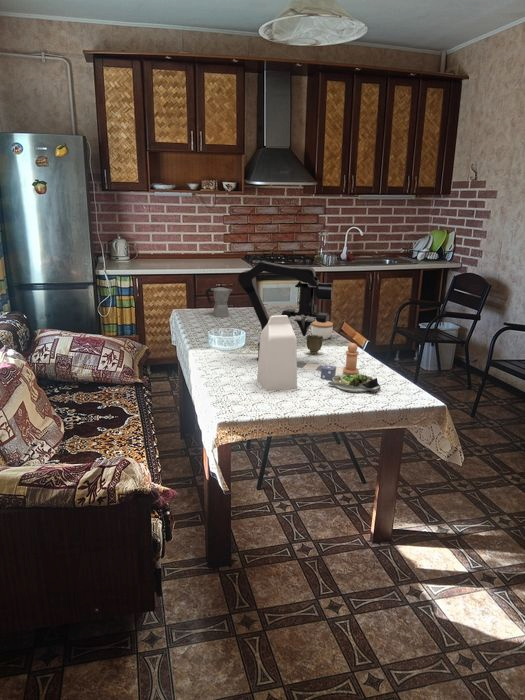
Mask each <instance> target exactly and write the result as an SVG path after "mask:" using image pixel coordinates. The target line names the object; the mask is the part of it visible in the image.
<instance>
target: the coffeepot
mask: <svg viewBox="0 0 525 700" xmlns="http://www.w3.org/2000/svg"><path fill="white" fill-rule="evenodd" d="M209 292H210V293H213V300H214V305H213V312H212V316H213V317H216V318H227V317H229V316H230V313H229V306H228V301H229V297H230V295H231V293H232V292H233V289H232V288H226V287H223V284H222V283H220V284H219V286H218V287H215V288H211V287H209V288H207V289H206V290H205V292H204V293H205V295H206V298H207V302H208V303H209V304H213V301H212V300H211V296H210V294H209Z"/></svg>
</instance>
